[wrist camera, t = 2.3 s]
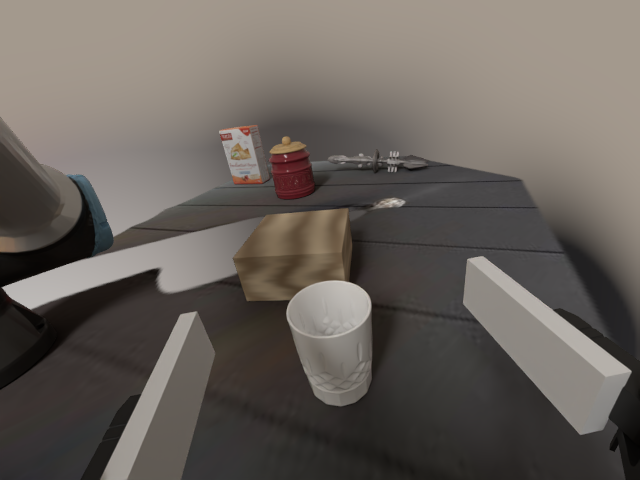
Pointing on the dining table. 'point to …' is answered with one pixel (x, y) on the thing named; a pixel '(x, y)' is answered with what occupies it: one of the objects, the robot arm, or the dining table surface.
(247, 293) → the riser block
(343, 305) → the white cup
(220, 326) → the dining table surface
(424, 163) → the spaceship
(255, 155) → the cracker box
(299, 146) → the canister
